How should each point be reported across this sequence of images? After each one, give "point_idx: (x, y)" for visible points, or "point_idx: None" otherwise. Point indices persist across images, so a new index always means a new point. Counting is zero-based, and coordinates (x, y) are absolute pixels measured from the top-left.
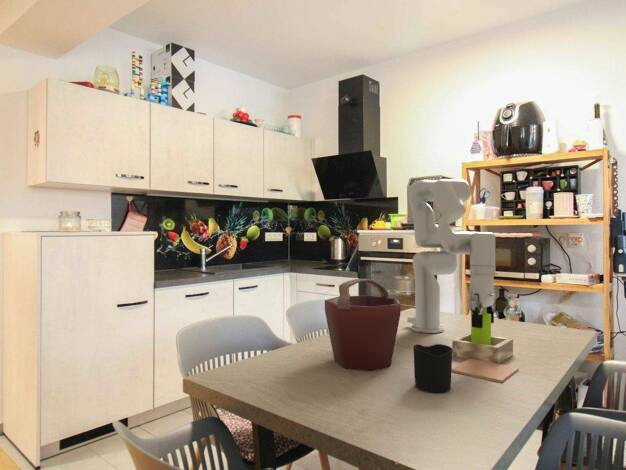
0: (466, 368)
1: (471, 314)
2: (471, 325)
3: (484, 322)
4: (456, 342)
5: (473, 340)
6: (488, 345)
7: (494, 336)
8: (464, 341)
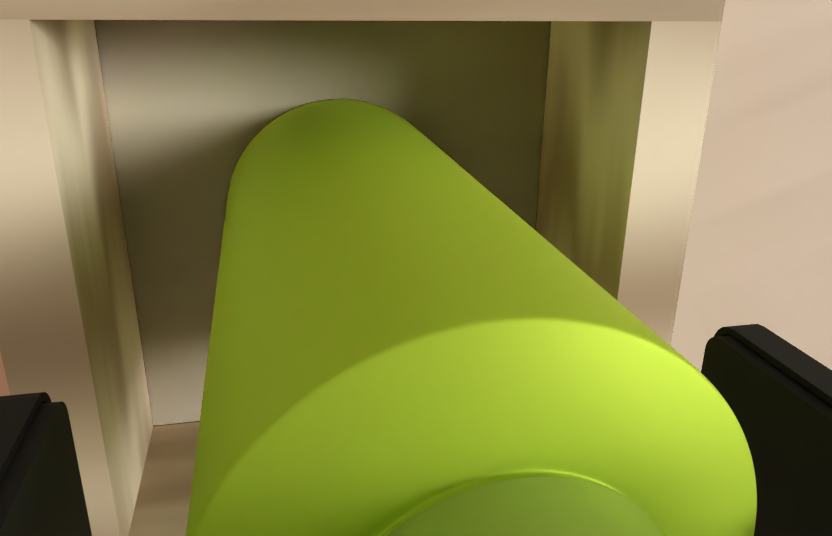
0: None
1: (300, 388)
2: (283, 248)
3: None
4: None
5: (234, 218)
6: (85, 499)
7: (663, 335)
8: (12, 150)
